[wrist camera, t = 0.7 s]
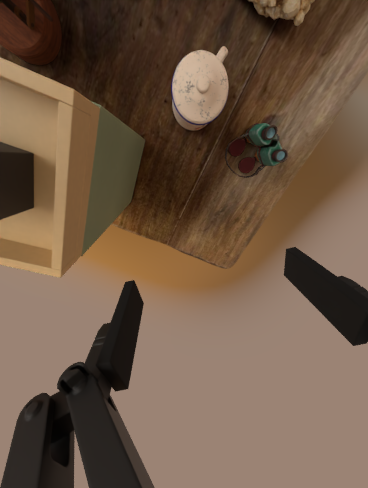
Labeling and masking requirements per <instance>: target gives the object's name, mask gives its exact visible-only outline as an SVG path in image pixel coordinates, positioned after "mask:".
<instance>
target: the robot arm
mask: <svg viewBox="0 0 368 488" xmlns="http://www.w3.org/2000/svg"><path fill="white" fill-rule="evenodd" d="M284 276H286V278H288V280H289V281H290V282H291V283H292V284H293V285H294V286H295V287H296V288H297V289H298V290H299V291H300V292H301V293H302V294H303V295H304V296H305V297H306V298H307V299H308V300H309V301H310V302H311V303H312V304H313V305H314V306H315V307H316V308H317V309H318V310H319V311H320V312H321V313H322V314H323V315H324V316H325V317H326V318H327V319H328V321H329V322H331V324H332V325H333V326H335V328H336V329H337V330H338V331H339V332H340V333H341V334H342V335H343V336H344V337H345V338H346V339H347V340H348V341H349V342H350V343H351V344H352V345H353V346H355V345H361V344H366V343H367V342H368V291H367V290H366V289H365V288H363V287H361V286H360V285H358V284H357V283H356V282H354V281H353V280H351V279H348V278H346V277H343V276H339V277H337V276H335V275H334V274H332V273H331V272H330V271H328V270H326V269H325V268H324V267H323V266H321V265H320V264H318V263H317V262H316V261H314V260H312V259H311V258H310V257H309V256H307V255H306V254H304V253H303V252H301V251H300V250H299V249H297V248H296V247H294V248H289V249H286V258H285V269H284ZM143 304H144V303H143V301H142V298H141V296H140V293H139V291H138V288H137V286H136V284H135V281H134V280H133V281H128V282H125V284H124V288H123V290H122V293H121V296H120V298H119V301H118V304H117V307H116V309H115V312H114V315H113V318H112V320H111V323H107V324H103V326H102V327H101V328H100V330H99V331H98V333H97V335H96V338H95V341H94V342H93V345H92V347H91V350H90V352H89V354H88V357H87V359H86V362H85V364H84V363H83V362H77V363H75V364H73V365H71V366H70V367H68V368H67V369H66V370H65V371H64V372H63V374H62V375H61V377H60V378H59V381H58V384H57V389H59V390H60V391H59V392H58V393H56V394H54V395H52V396H49V395H48V394H47V393H41V394H39V395H37V396H35V397H34V398H33V399H31V400H30V401H29V402H28V403H27V404H26V405H25V407H24V408H23V410H22V411H21V413H20V415H19V417H18V420H17V423H16V427H15V431H14V435H13V439H12V443H11V447H10V452H9V455H8V459H7V463H6V467H5V471H4V475H3V479H2V483H1V487H0V488H74V430H75V434H76V438H77V442H78V446H79V450H80V454H81V458H82V462H83V465H84V469H85V473H86V477H87V481H88V485H89V488H154V486H153V484H152V481H151V479H150V477H149V475H148V473H147V471H146V469H145V467H144V465H143V463H142V460H141V458H140V456H139V454H138V452H137V450H136V448H135V446H134V444H133V441H132V439H131V438H130V435H129V433H128V431H127V429H126V427H125V425H124V423H123V421H122V418H121V416H120V414H119V412H118V410H117V408H116V406H115V404H114V402H113V400H112V397H111V396H110V391H111V387H112V388H113V389H114V390H115V391H120V390H125V389H128V386H129V381H130V376H131V370H132V365H133V359H134V354H135V348H136V342H137V337H138V332H139V326H140V321H141V315H142V309H143Z"/></svg>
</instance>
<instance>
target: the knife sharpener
mask: <svg viewBox="0 0 368 488" xmlns="http://www.w3.org/2000/svg"><path fill="white" fill-rule="evenodd" d="M32 208H34V153H32V152H29V151H26V150H23V149H20V148H17V147H14V146H11V145H8V144H5V143H2V142H0V220H2V219H4V218H7V217H10V216H13V215H16V214H18V213H21V212H24V211H27V210H29V209H32Z"/></svg>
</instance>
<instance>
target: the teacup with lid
mask: <svg viewBox="0 0 368 488" xmlns="http://www.w3.org/2000/svg"><path fill="white" fill-rule="evenodd" d="M227 54H228V50H227V48H226V47H225V46H223V47H222V48H221V49H220V51H219V52H218V54H217V56H215V55H214V54H212V53H210V52H208V51H203V50H199V51H194V52H192V53H190V54H188V55H186V56H185V57H184V58H183V59H182V60H181V61H180V62H179V64H178V66H177V67H176V69H175V72H174V75H173V78H172V85H171V93H172V107H173V113H174V116H175V118H176V120H177V121H178V123H179V124H180V125H181V126H182V127H184V128H185V129H188V130H199V129H202V128H203V127H205V126H206V125H207V124H208V123H210V122H212V121H213V120H215V119H216V118H217V117H218V116H219V115H220V113H221V112H222V110H223V108H224V106H225V104H226V101H227V97H228V77H227V73H226V70H225V68H224V66H223V64H222V63H223V61H224V59H225V58H226V56H227Z"/></svg>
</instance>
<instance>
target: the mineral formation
mask: <svg viewBox="0 0 368 488" xmlns="http://www.w3.org/2000/svg"><path fill="white" fill-rule="evenodd" d="M248 1H249V2H250V1H252V2H253V3H254V7H255V9H256V10H257V12H258V14H260V15H264V16H265V17H268V16H270V17H271V18H273V20H275V19H276V18H279V17H281V18H283V19H287V20H289V19H291V20H294V21H293V22H294V25H295V26H299V25H300V24H301V23H302V22H303V20H304V16H305V14H306V13H307V12H308V11H309V9H310V3H313V2H314V1H315V0H248Z"/></svg>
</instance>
